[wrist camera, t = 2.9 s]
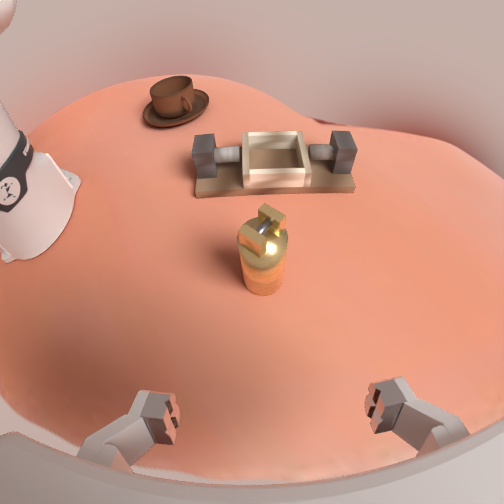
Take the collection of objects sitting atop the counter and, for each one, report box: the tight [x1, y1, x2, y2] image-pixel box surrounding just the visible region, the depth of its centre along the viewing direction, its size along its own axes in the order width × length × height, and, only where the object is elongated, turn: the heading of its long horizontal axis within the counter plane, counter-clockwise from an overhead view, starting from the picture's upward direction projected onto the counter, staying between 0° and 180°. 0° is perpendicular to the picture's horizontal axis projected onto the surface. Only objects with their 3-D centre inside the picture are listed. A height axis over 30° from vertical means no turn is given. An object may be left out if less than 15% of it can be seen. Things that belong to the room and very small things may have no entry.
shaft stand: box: [192, 131, 357, 198], centre depth 34 cm, size 20×8×6 cm, turn 92°
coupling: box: [237, 203, 288, 296], centre depth 25 cm, size 4×4×10 cm
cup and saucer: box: [143, 76, 209, 127], centre depth 43 cm, size 12×12×6 cm
